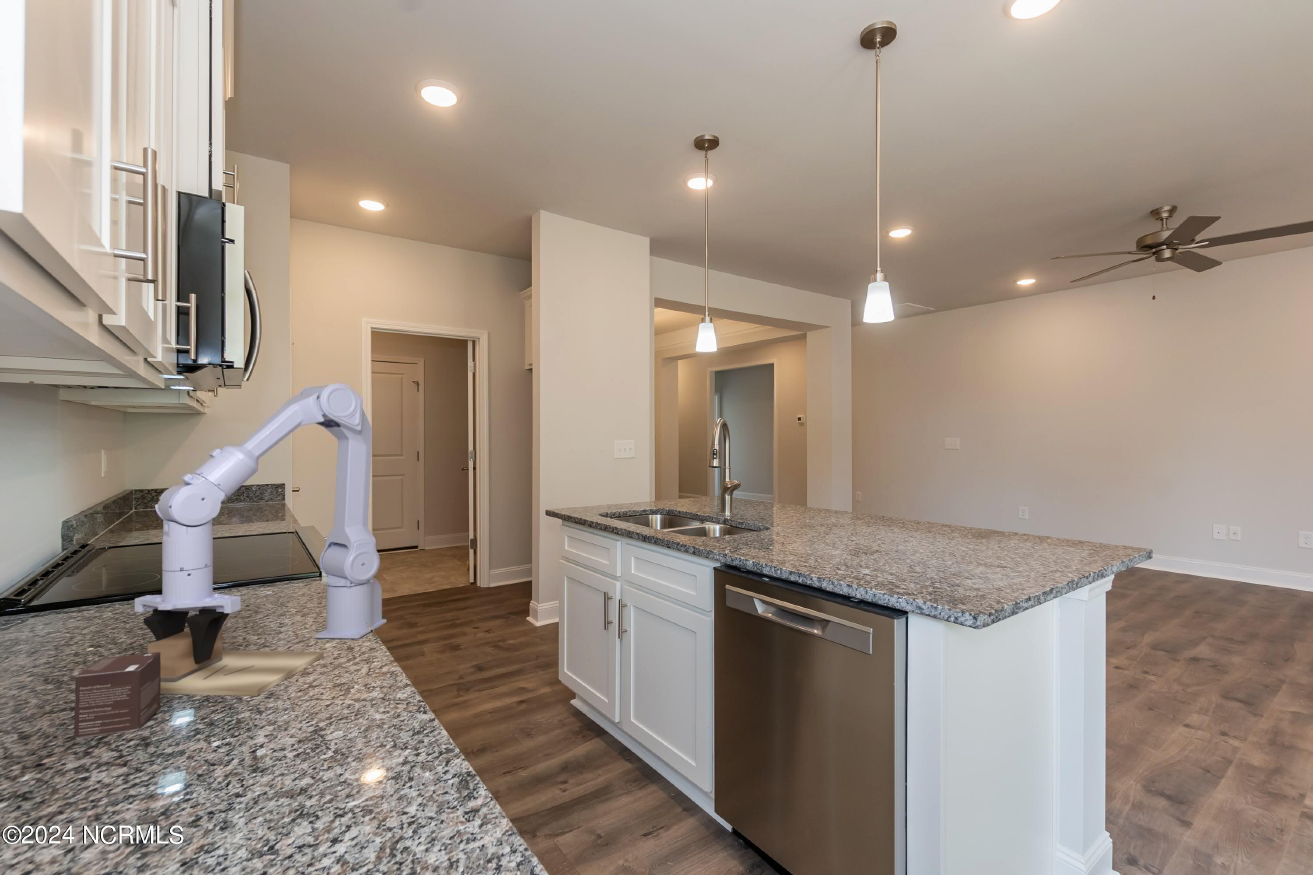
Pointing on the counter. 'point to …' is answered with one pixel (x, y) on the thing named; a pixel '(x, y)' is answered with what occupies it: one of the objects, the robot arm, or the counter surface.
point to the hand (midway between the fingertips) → (187, 660)
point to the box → (117, 694)
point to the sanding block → (182, 656)
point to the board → (242, 673)
